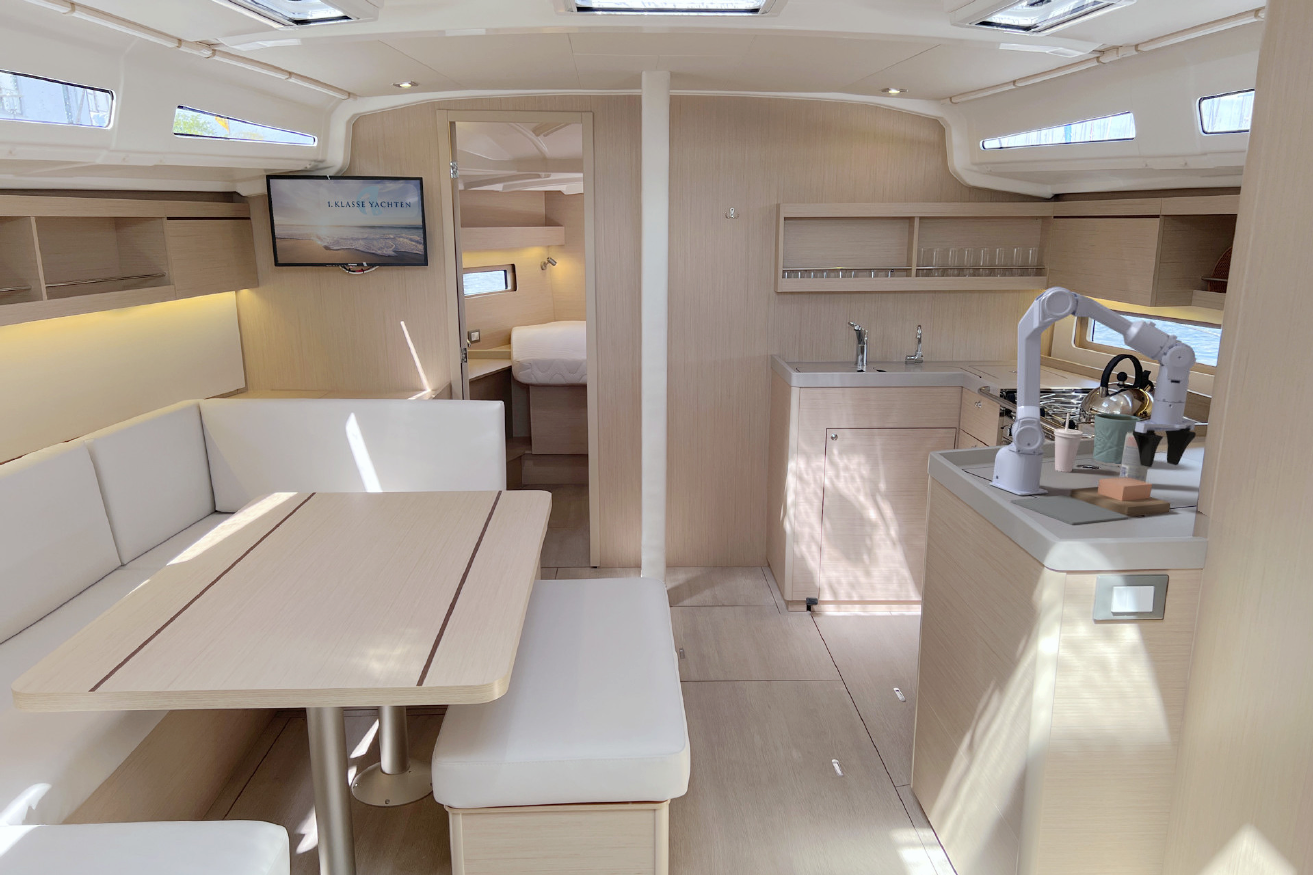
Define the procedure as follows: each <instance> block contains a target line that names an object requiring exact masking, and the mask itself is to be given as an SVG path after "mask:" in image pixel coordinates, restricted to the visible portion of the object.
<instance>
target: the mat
mask: <svg viewBox="0 0 1313 875" xmlns="http://www.w3.org/2000/svg"><path fill="white" fill-rule="evenodd" d="M1010 502H1011V503H1012V504H1016V505H1018V506H1020V507H1022V508H1026V509H1027V510H1028V509H1029V510H1031V511H1034V512H1037V513H1040V514H1042V515H1045V516H1047V517H1050V518H1053V519H1056V520H1058V521H1061V522H1063V523H1066V524H1069V525H1071V526H1073V525H1074V526H1075V525H1085V524H1092V523H1102V522H1111V521H1112V522H1113V521H1119V520H1127V519H1130V517H1129V516H1126V515H1123V514H1120V513H1117V512H1114V511H1111V510H1108V509H1105V508H1102V507H1099V506H1096V505H1093V504H1090V503H1087V502H1084V501H1081V500H1078V499H1075V498H1072V497H1070V496H1069V495H1064V494H1063V495H1053V496H1051V495H1050V496H1043V497H1040V496H1039V497H1032V498H1020V499H1011V500H1010Z"/></svg>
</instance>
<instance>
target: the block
mask: <svg viewBox="0 0 1313 875" xmlns="http://www.w3.org/2000/svg"><path fill="white" fill-rule="evenodd" d="M1119 477H1120V476H1119ZM1119 477H1109V478H1100V479H1099V480H1098V485H1097V487H1098V493H1099V494H1102V495H1105V496H1108V497H1111V498H1114V499H1118V500H1121V501H1125V500H1135V499H1145V498H1150V497H1151V492H1152V487H1153V486H1152V485H1153V483H1149V482H1147V481H1146V482H1143V481H1140V480H1136V479H1133V478H1129V477H1120V478H1119Z"/></svg>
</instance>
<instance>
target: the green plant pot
mask: <svg viewBox="0 0 1313 875" xmlns="http://www.w3.org/2000/svg"><path fill="white" fill-rule="evenodd" d="M1136 422H1141V418H1139V417H1138V416H1134V415H1129V414H1125V413H1111V412H1110V413H1109V412H1107V413H1106V412H1104V413H1103V412H1101V413H1095V414H1094V437H1093V446H1094V447H1093V453H1092V454H1093V455H1092V460H1093V459H1095V460H1097V461H1102V462H1105V463H1115V464H1122V457H1123V451H1124V444H1125V437H1126V434H1127V432H1129V431H1133V430H1135V427H1136Z"/></svg>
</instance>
